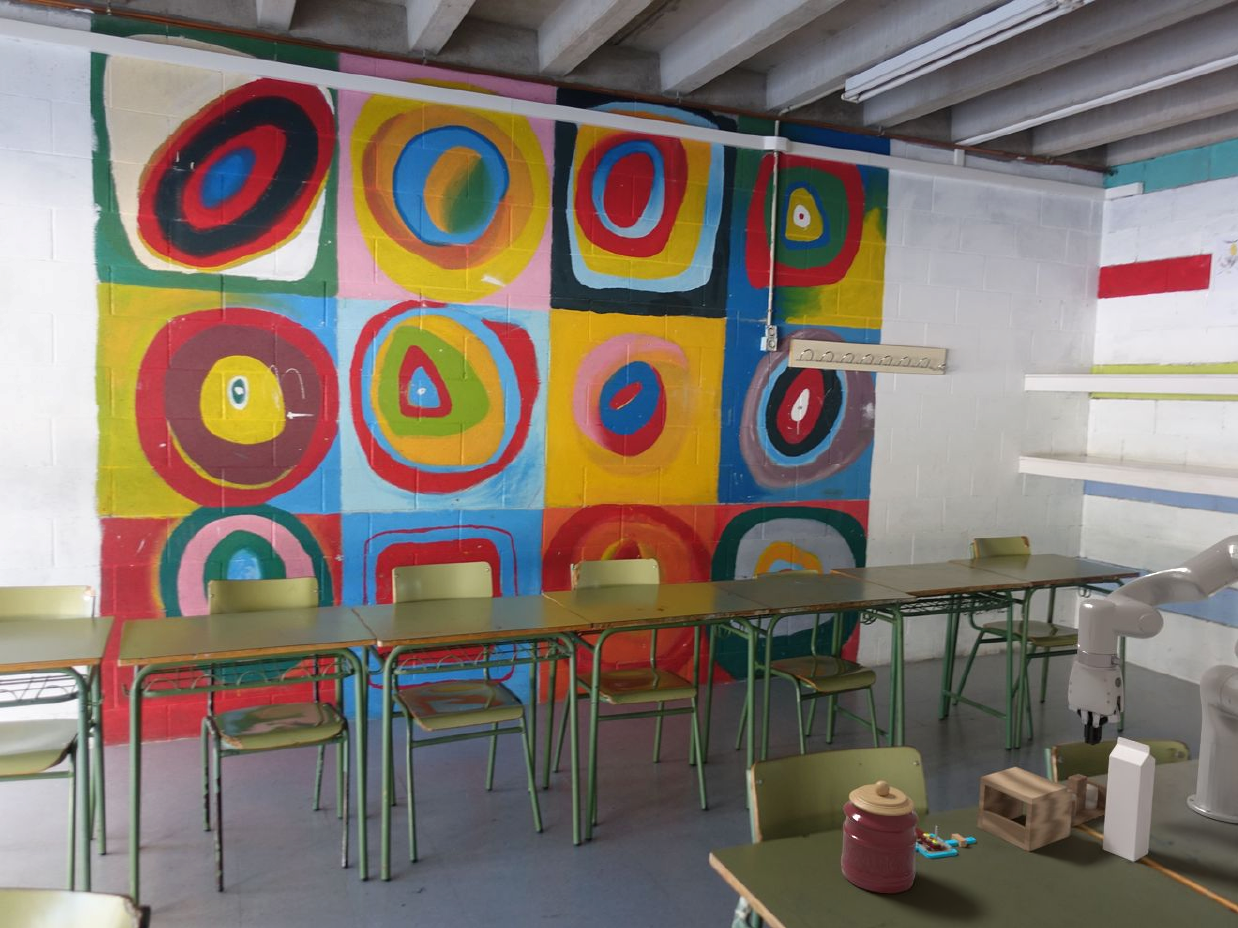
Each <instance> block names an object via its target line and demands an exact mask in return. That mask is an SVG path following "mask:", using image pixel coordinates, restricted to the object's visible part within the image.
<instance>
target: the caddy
mask: <svg viewBox="0 0 1238 928" xmlns="http://www.w3.org/2000/svg"><path fill="white" fill-rule="evenodd" d="M1067 779H1068V782H1067V789H1069V790H1072V791H1073V797H1072V811H1071V825H1070V828H1072V827H1075V826H1078V825H1081V824H1083V822H1084V823H1086V822H1085V821H1087V820H1090V819H1093V818H1095V817H1098V816H1101V817H1103V816H1102V815H1104V816H1105V810H1106V797H1107V786H1106V785H1104V784H1102V783H1099V782H1097V781H1094V780H1092V779H1088V776H1087V775H1086V776H1085V775H1083V774H1080V773H1077V774H1074V775H1071V776H1068V778H1067ZM1098 818H1099V817H1098ZM1095 819H1096V818H1095ZM1093 820H1094V819H1093ZM1090 821H1091V820H1090ZM1087 822H1088V821H1087Z"/></svg>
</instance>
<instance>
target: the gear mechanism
mask: <svg viewBox="0 0 1238 928" xmlns="http://www.w3.org/2000/svg"><path fill="white" fill-rule="evenodd" d="M938 831H939V830H938V825H935V832H934V833H925V832H923V831H922V830H921V829H920V828H918V827H915V832H916V834H917V842H916V852H919V853H921V855H923V856H925V857H926V858H927V859H931V860H932V859H939V858H945V857H953V856H957V854H958V850H956V849H955V848H954V847H955V846H956V847H957V846H959V847H960V848H965V847H968V845H969V844H976V842H977V839H976V838H974V837H973V836H971V837H963V836H962V835H960V834H959V833H951V839H950V840H949V839H948V840H944V839H942V838H941V837H939V835H938ZM941 849H943V850H941ZM930 850H931V851H930Z"/></svg>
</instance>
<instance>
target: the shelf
mask: <svg viewBox="0 0 1238 928" xmlns="http://www.w3.org/2000/svg"><path fill="white" fill-rule="evenodd" d="M979 786H980V787H979V802H978V805H979V806H978V817H977V828H978V829H980V830H982V831H984V832H986V833H989V834H991V835H993V836H995V837H998V838H999V839H1001V840H1003V841H1005V842H1008V843H1010V844H1012V845H1014V846H1016V847H1018V848H1021V849H1022V850H1025V851H1026V852H1032V851H1034V850H1036V849H1039V848H1042V847H1044V846H1047V845H1049V844H1053V843H1055V842H1057V841H1060V840H1063V839H1066V838H1069V837H1070V835H1071V827H1070V825H1071V811H1072V797H1073V791H1072V790H1069V789H1068V786H1065V785H1063V784H1061V783H1058V782H1056V781H1053V780H1050V779H1048V778H1045V777H1042V776H1041V775H1037V774H1035V773H1033V772H1030V771H1028V770H1025V769H1022V768H1020V767H1017V766H1014V767H1009V768H1007V769H1004V770H1001V771H997V772H994V773H993V772H992V773H991V774H990V773H989V774H987V775H983V776H981V777H980V785H979ZM1024 802H1025V803H1026V813H1025V814H1026V818H1025V825H1022V824H1020V823H1018V822H1016V821H1013V820H1012V819H1016V818H1019V817H1021V816H1024Z"/></svg>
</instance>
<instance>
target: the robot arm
mask: <svg viewBox="0 0 1238 928" xmlns="http://www.w3.org/2000/svg"><path fill="white" fill-rule="evenodd" d="M1237 582H1238V534H1235V535H1229V536H1228V537H1225V538H1223V539H1221V540H1220V541H1218V542H1217V543H1216V542H1215V543H1214V544H1213V545H1211V546H1210V547H1208V548H1206V549H1204V550H1203V551H1202V552H1200V553H1198V554H1196V555H1195V556H1193V557H1191V558H1189V559H1187V560H1186V561H1185V562H1183V563H1181V564H1180V565H1177V566H1175V567H1172V568H1171V567H1170V568H1166V569H1163V570H1160V571H1157V572H1154V573H1150V574H1146V575H1143V576H1139V577H1138V578H1136V579H1133V580H1130V581H1129V582H1126V583H1125V584H1123V585H1121V586H1120V587H1119V588H1117V589H1115V590H1114V591H1111V592H1110V593H1108V595H1106V597H1105V598H1104V599H1100V598H1099V599H1098V598H1097V599H1095V598H1090V599H1089V598H1088V599H1085V600H1082V601H1081V602H1080V604H1079V609H1078V631H1077V653H1076V660H1074V661H1073V663H1072V666H1071V667H1072V668H1071V672H1070V676H1069V682H1068V691H1067V698H1068V708H1069V710H1070V711H1072V712H1074V713H1076V714H1077V715H1078V716H1079V718H1081V722H1082V724H1083V725H1084V730H1083V731H1084V732H1083V737H1084V743H1085V744H1087V745H1088V744H1089V745H1091V746H1096V745H1097V744H1100V743H1101V741H1102V740H1103V739H1102V738H1103V726H1105V725H1106V724H1108V723H1111V724H1113V723H1114V724H1117V723H1119V722H1121V715H1120V714H1121V713H1123V712H1124V709H1125V698H1124V697H1125V694H1124V693H1125V691H1124V680H1123V674H1122V669H1121V668H1120V667H1119V666H1122V665H1123V663H1124V660H1123V659H1122V658H1120V657H1119V654H1118V642H1119V640H1118V639H1119V637H1125V638H1133V639H1138V640H1139V639H1140V640H1144V639H1151V638H1154V637H1156V636H1157V635H1159V633H1161V631H1162V630H1163V627H1164V624H1165V623H1164V617H1163V616H1162V614H1161V612H1160V611H1159V610H1158V609H1157V607H1158V606H1163V605H1167V604H1179V603H1180V604H1183V603H1185V604H1186V603H1198V602H1203V601H1206V600H1209V599H1211V598H1212V597H1214V596H1215V595H1217V594H1218V593H1220V592H1222V591H1224V590H1225V589H1227V588H1228V587H1230V586H1232V585H1234V584H1236V583H1237ZM1234 653H1235V656H1236V657H1237V659H1238V639H1237V641H1236V642H1235V644H1234ZM1199 694H1200V695H1199V696H1200V703H1201V715H1202V716H1201V717H1202V719H1201V730H1200V731H1201V733H1200V734H1201V735H1200V746H1199V753H1198V754H1199V755H1198V756H1199V757H1198V766H1197V767H1198V769H1197V770H1198V771H1197V778H1196V779H1197V783H1196V793H1194V794H1191V795H1189V796H1188V797H1187V800H1186V803H1187V806H1188V807H1189V809H1191V810H1193V811H1194V812H1196V813H1198V814H1200V815H1202V816H1204V817H1207V818H1210V819H1214V820H1216V821H1220V822H1225V823H1230V824H1238V667H1236V666H1233V665H1229V664H1217V665H1214V666H1211V667H1209V668H1208V669H1207V670H1205V672H1204V673H1203V674H1202V675H1201V679H1200V683H1199Z"/></svg>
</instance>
